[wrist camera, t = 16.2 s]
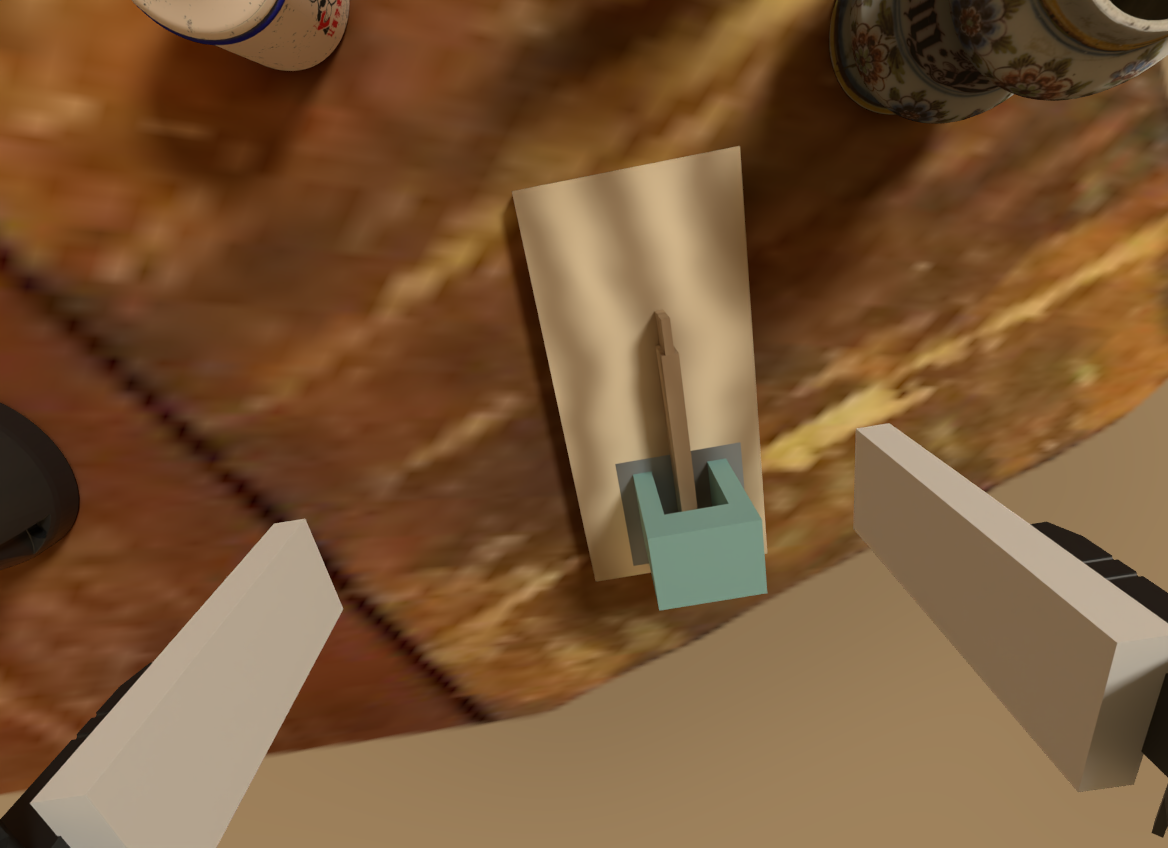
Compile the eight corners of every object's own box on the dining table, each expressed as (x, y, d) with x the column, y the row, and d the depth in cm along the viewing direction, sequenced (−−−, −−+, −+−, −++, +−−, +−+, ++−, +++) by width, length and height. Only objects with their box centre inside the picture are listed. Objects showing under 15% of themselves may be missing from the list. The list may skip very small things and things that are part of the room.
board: (594, 567, 51) (597, 605, 46) (514, 191, 39) (507, 191, 34) (759, 540, 50) (779, 575, 45) (731, 148, 38) (754, 142, 33)
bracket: (643, 536, 47) (659, 610, 39) (632, 474, 45) (647, 539, 37) (731, 521, 47) (767, 593, 39) (725, 458, 45) (762, 519, 36)
